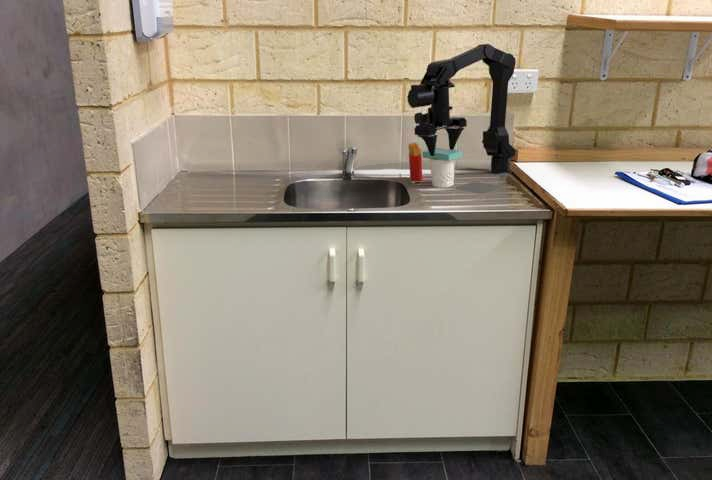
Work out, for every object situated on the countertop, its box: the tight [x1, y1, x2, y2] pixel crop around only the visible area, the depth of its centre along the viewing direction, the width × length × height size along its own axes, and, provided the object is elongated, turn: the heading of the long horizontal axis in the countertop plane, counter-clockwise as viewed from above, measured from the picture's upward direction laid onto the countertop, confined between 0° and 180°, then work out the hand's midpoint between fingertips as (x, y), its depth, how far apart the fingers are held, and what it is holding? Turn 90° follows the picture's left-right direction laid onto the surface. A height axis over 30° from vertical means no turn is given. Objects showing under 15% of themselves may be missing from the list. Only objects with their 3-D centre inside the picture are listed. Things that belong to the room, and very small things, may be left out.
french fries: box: [407, 142, 423, 183], centre depth 207 cm, size 9×4×13 cm, turn 175°
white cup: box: [429, 159, 455, 188], centre depth 196 cm, size 8×8×10 cm
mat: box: [453, 181, 505, 195], centre depth 191 cm, size 10×12×1 cm
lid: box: [422, 147, 463, 161], centre depth 194 cm, size 6×11×2 cm, turn 41°
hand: (441, 153), depth 194 cm, fingers open, 9 cm apart
